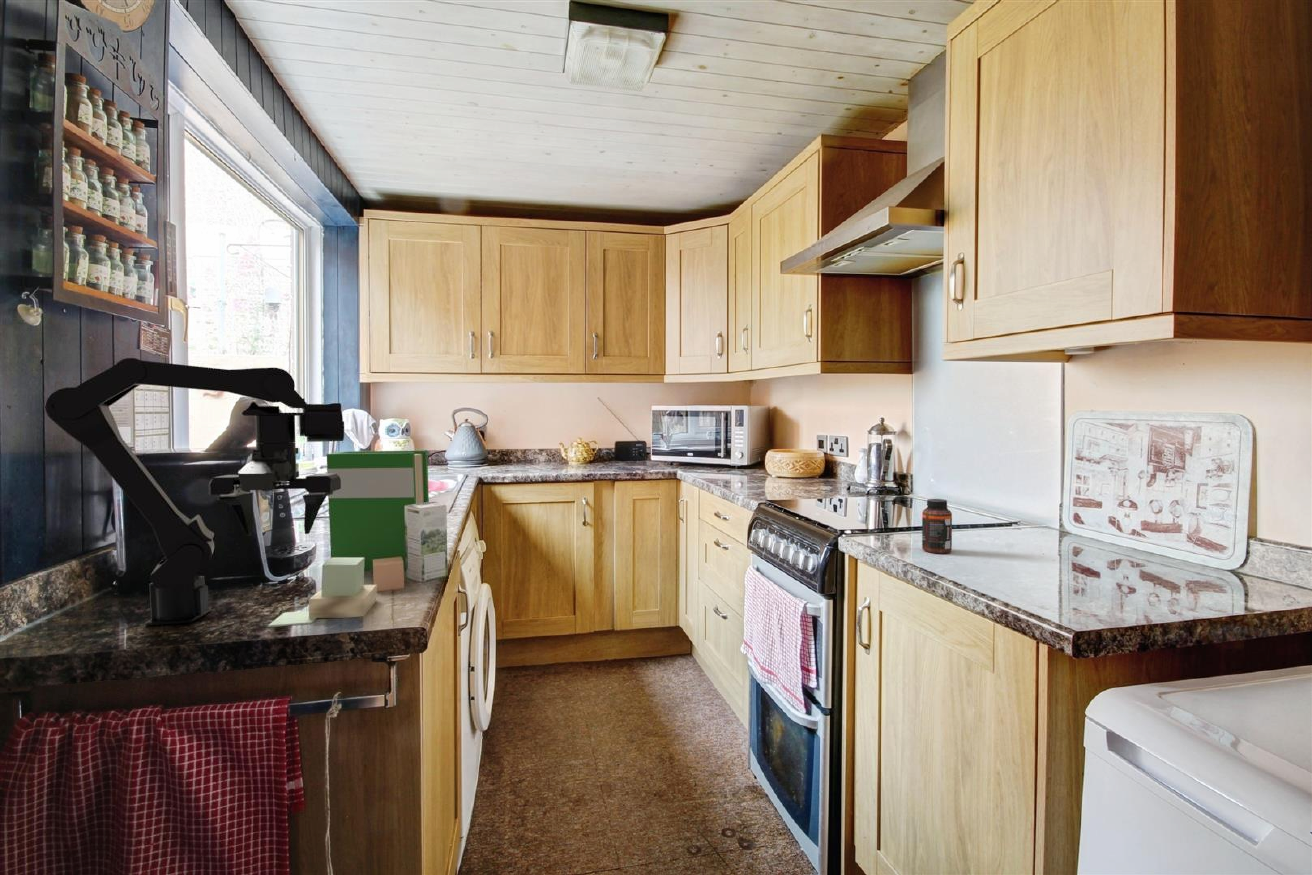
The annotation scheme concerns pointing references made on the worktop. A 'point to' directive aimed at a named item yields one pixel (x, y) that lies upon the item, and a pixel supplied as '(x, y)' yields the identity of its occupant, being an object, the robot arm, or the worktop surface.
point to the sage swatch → (292, 619)
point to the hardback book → (374, 502)
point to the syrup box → (426, 541)
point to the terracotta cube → (388, 573)
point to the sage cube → (342, 576)
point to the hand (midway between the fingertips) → (278, 534)
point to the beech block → (342, 604)
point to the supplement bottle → (937, 527)
